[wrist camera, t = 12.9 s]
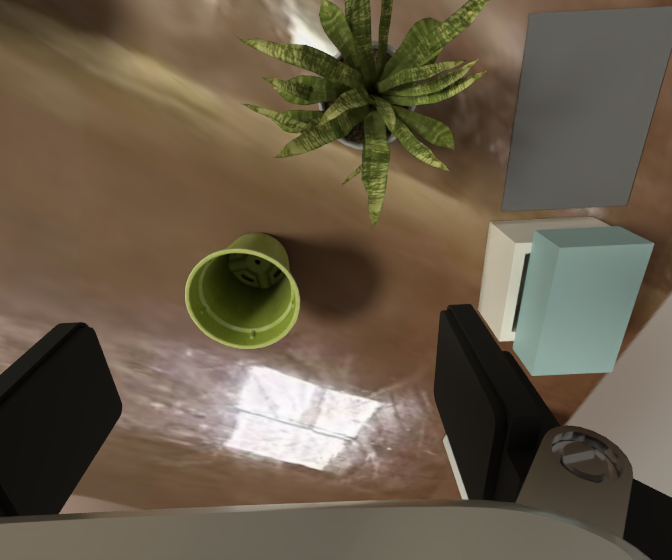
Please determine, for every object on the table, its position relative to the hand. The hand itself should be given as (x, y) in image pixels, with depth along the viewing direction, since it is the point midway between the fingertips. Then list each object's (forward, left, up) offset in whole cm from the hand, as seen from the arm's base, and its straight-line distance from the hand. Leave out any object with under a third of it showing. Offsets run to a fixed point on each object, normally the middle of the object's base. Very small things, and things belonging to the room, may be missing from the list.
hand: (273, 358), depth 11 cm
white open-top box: (+11, +22, -28) cm, 37 cm away
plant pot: (+9, -6, -28) cm, 30 cm away
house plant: (-7, +5, -28) cm, 30 cm away
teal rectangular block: (+11, +22, -22) cm, 33 cm away
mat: (-3, +24, -28) cm, 37 cm away
